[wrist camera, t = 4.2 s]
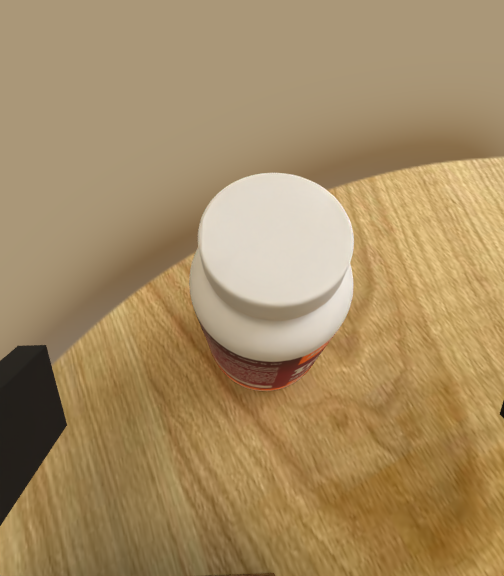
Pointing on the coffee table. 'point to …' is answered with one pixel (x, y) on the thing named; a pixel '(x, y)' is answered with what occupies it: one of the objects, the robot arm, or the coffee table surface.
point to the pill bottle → (271, 277)
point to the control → (247, 575)
